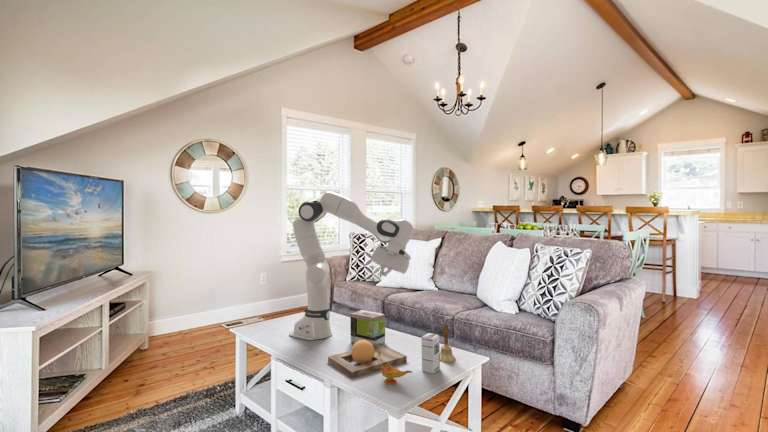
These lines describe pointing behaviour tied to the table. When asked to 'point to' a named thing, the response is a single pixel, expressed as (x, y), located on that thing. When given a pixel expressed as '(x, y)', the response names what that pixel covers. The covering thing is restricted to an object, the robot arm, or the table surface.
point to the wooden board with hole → (355, 371)
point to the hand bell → (446, 347)
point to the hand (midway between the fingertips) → (382, 275)
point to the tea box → (368, 327)
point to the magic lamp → (391, 372)
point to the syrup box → (430, 353)
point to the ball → (362, 351)
